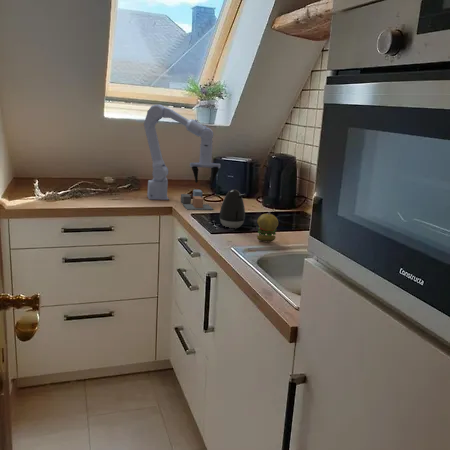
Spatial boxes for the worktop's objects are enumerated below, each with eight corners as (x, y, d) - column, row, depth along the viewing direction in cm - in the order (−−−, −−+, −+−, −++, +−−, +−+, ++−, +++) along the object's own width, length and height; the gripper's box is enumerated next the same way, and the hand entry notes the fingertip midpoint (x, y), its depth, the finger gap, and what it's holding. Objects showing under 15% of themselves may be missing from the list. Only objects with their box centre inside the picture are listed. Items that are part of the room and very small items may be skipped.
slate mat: (186, 210, 216) (186, 208, 216) (183, 205, 224) (183, 204, 224) (212, 210, 219) (213, 208, 219) (208, 205, 227) (208, 204, 227)
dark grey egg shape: (236, 232, 187) (239, 193, 183) (213, 226, 192) (216, 189, 188) (249, 227, 195) (252, 190, 191) (227, 222, 201) (230, 186, 197)
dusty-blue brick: (194, 199, 238) (195, 191, 237) (192, 197, 244) (193, 189, 243) (201, 200, 239) (202, 192, 238) (199, 197, 244) (200, 189, 243)
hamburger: (274, 240, 180) (277, 208, 177) (278, 246, 173) (281, 213, 170) (253, 239, 179) (256, 207, 176) (257, 245, 172) (260, 212, 169)
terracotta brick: (195, 207, 219) (195, 199, 218) (192, 204, 224) (192, 196, 223) (202, 207, 220) (203, 199, 219) (199, 204, 225) (200, 196, 224)
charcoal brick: (183, 205, 226) (183, 196, 224) (180, 202, 231) (181, 193, 230) (190, 205, 227) (191, 196, 226) (187, 202, 232) (188, 193, 231)
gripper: (192, 154, 223) (190, 183, 227) (222, 155, 227) (220, 184, 230) (189, 152, 230) (188, 180, 233) (219, 153, 233) (217, 181, 237)
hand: (204, 182), depth 232 cm, fingers open, 7 cm apart
